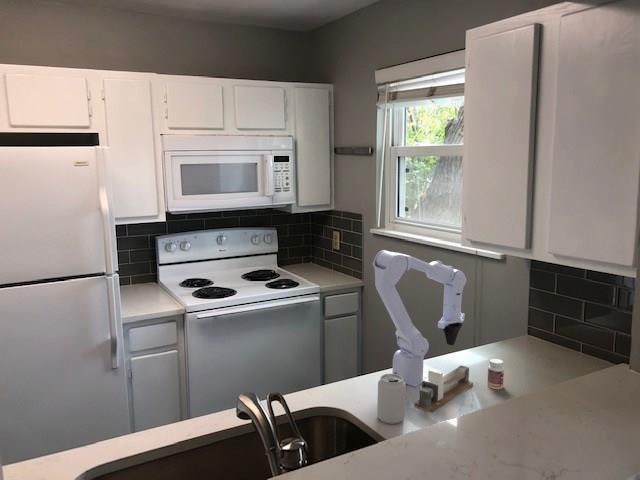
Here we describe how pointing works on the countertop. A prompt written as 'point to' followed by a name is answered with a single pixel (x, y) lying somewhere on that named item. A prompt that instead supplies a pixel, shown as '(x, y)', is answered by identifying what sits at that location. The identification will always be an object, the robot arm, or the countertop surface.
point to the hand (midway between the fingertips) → (450, 344)
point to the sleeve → (436, 381)
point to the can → (391, 398)
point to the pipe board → (445, 389)
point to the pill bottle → (495, 374)
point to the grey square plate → (434, 389)
